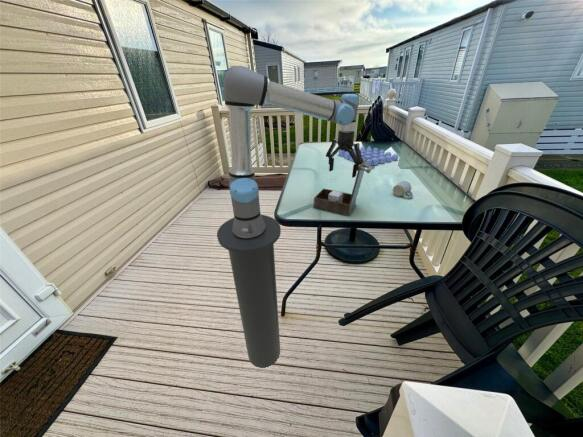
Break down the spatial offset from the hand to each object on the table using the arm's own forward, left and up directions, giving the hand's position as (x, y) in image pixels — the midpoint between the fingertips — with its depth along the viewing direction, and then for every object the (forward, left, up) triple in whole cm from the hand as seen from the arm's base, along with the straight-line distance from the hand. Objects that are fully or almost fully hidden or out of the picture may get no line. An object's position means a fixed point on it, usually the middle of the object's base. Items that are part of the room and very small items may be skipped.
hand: (342, 173), depth 126 cm
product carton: (-1, -4, -17) cm, 18 cm away
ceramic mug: (+30, +27, -18) cm, 44 cm away
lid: (+9, -4, -1) cm, 10 cm away
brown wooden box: (-1, -4, -18) cm, 18 cm away
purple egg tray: (-5, +89, -18) cm, 91 cm away
